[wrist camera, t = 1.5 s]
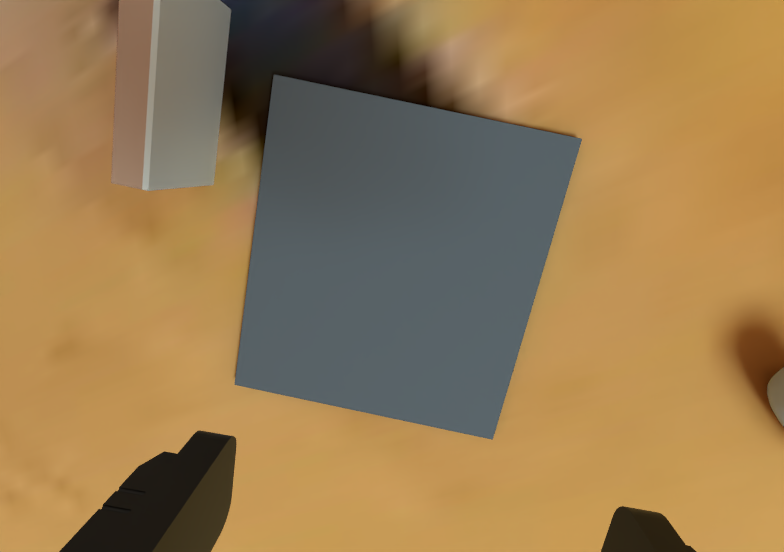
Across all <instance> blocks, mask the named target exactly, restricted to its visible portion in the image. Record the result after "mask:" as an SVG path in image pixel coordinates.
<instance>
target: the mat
mask: <svg viewBox="0 0 784 552" xmlns="http://www.w3.org/2000/svg"><path fill="white" fill-rule="evenodd" d="M581 141H582V139H580V138H575V137H571V136H566V135H561V134H556V133H551V132H547V131H542V130H537V129H532V128H528V127H523V126H518V125H513V124H508V123H504V122H499V121H494V120H489V119H485V118H480V117H475V116H470V115H466V114H461V113H456V112H451V111H446V110H442V109H437V108H432V107H427V106H423V105H418V104H413V103H408V102H403V101H399V100H394V99H389V98H384V97H380V96H375V95H370V94H365V93H360V92H356V91H351V90H346V89H341V88H337V87H332V86H327V85H322V84H317V83H313V82H308V81H303V80H298V79H294V78H289V77H284V76H279V75H274V76H273V84H272V92H271V100H270V108H269V116H268V124H267V132H266V140H265V148H264V156H263V163H262V171H261V179H260V187H259V195H258V203H257V211H256V219H255V227H254V235H253V243H252V251H251V259H250V267H249V275H248V283H247V291H246V299H245V307H244V315H243V322H242V330H241V338H240V346H239V354H238V362H237V370H236V378H235V385H239V386H243V387H248V388H253V389H257V390H262V391H267V392H272V393H276V394H281V395H286V396H290V397H295V398H300V399H304V400H309V401H314V402H319V403H323V404H328V405H333V406H337V407H342V408H347V409H351V410H356V411H361V412H366V413H370V414H375V415H380V416H384V417H389V418H394V419H398V420H403V421H408V422H413V423H417V424H422V425H427V426H431V427H436V428H441V429H445V430H450V431H455V432H460V433H464V434H469V435H474V436H478V437H483V438H488V439H492V440H493V436H494V433H495V430H496V426H497V423H498V420H499V416H500V413H501V409H502V406H503V403H504V399H505V396H506V393H507V389H508V386H509V383H510V379H511V376H512V372H513V369H514V366H515V362H516V359H517V356H518V352H519V349H520V346H521V342H522V339H523V335H524V332H525V329H526V325H527V322H528V319H529V315H530V312H531V309H532V305H533V302H534V299H535V295H536V292H537V288H538V285H539V282H540V278H541V275H542V272H543V268H544V265H545V262H546V258H547V255H548V251H549V248H550V245H551V241H552V238H553V235H554V231H555V228H556V225H557V221H558V218H559V214H560V211H561V208H562V204H563V201H564V198H565V194H566V191H567V188H568V184H569V181H570V177H571V174H572V171H573V167H574V164H575V161H576V157H577V154H578V151H579V147H580V144H581Z"/></svg>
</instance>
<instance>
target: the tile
mask: <svg viewBox="0 0 784 552" xmlns="http://www.w3.org/2000/svg"><path fill="white" fill-rule="evenodd" d="M230 17H231V9H230V8H229V7H227V6H226V5H225V4H224V3H223V2H221V1H220V0H119V15H118V39H117V62H116V85H115V108H114V131H113V154H112V177H111V183H114V184H119V185H123V186H128V187H133V188H138V189H142V190H147V191H151V190H163V189H174V188H185V187H196V186H207V185H214V177H215V167H216V157H217V147H218V137H219V127H220V117H221V107H222V97H223V87H224V77H225V67H226V57H227V47H228V37H229V27H230Z"/></svg>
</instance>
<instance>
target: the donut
mask: <svg viewBox="0 0 784 552" xmlns="http://www.w3.org/2000/svg"><path fill="white" fill-rule="evenodd" d="M767 395H768V399H769V403H770V405H771V408H772V410H773V412H774V413H775V415H776V417H777V418H778V420H779V422H780V423H781V424H782V426H783V427H784V367H783V368H782V369H781V370H779V371H778V372H777V373H776V374H775V375H774V376H773V377H772V378H771V379H770V381H769V383H768V385H767Z"/></svg>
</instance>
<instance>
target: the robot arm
mask: <svg viewBox="0 0 784 552" xmlns="http://www.w3.org/2000/svg"><path fill="white" fill-rule="evenodd" d="M235 454H236V438H235V437H234V436H228V435H222V434H217V433H211V432H205V431H197V432H196V433H195V434H194V435H193V436H192V437H191V438H190V440H189V441H188V442H187V443H186V444H185V446H184V447H183V448H182V449H181V450H180V452H179V453H178V454H175V453H170V452H163V453H161V454H159V455H157V456H156V457H154V458H152V459H151V460H149V461H147V462H145V463H144V464H142V465H140V466H139V467H138V468H137V469H136V470H135V471H134V472H133V473H132V474H131V475H130V476H129V477H128V478H127V479H126V480H125V482H124V483H123V484H122V485H121V486H120V487H119V490H118V491H115V492H114V493H113V494H112V496H111V497H110V498H109V499H108V500H107V501H106V502H105V503H104V504H103V507H102V509H99V510H98V511H97V512H96V513H95V514H94V515H93V516H92V517H91V518H90V519H89V520H88V521H87V522H86V524H85V525H84V526H83V527H82V528H81V529H80V530H79V531H78V532H77V533H76V534H75V535H74V536H73V538H72V539H71V540H70V541H69V542H68V543H67V544H66V545H65V546H64V547H63V548H62V549H61V550H60V552H211V550H212V548H213V547H214V545H215V543H216V541H217V539H218V537H219V535H220V533H221V531H222V529H223V527H224V524H225V522H226V519H227V515H228V512H229V508H230V504H231V497H232V487H233V476H234V465H235ZM601 552H696V551H695V550H694V549H693V548H692V547H691V546H687V545H685V543H684V542H683V541H682V539H681V538H680V536H679V535H678V534H677V532H676V531H675V530H674V528H673V527H672V525H671V524H670V523H669V521H668V520H667V519H666V518H665V516H663V515H662V514H660V513H657V512H652V511H646V510H640V509H635V508H629V507H623V506H622V507H619V508H618V509H617V510H616V511H615V513H614V515H613V518H612V521H611V524H610V527H609V530H608V533H607V535H606V538H605V541H604V544H603V547H602V550H601Z"/></svg>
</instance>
